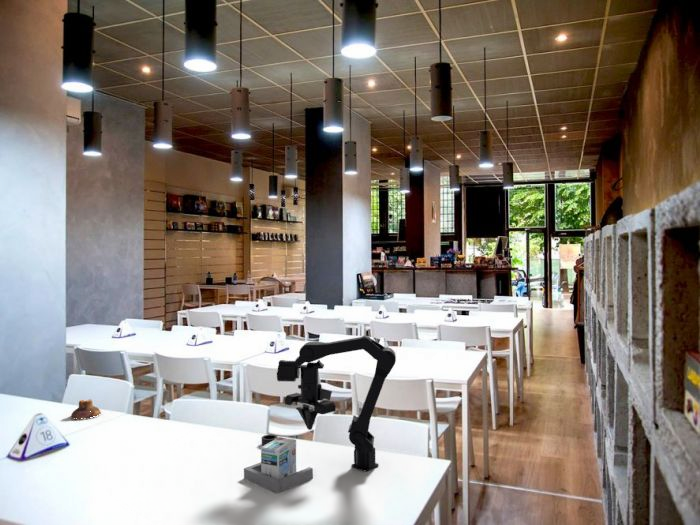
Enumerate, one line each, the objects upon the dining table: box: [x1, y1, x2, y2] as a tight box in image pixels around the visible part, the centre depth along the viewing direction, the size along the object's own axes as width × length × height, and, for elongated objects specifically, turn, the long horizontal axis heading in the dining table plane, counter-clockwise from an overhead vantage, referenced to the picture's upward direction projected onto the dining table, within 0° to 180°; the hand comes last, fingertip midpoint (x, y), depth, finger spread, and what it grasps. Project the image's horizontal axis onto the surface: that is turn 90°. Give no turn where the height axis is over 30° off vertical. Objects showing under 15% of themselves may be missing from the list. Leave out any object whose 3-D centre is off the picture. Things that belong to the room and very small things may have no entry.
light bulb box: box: [260, 436, 297, 480], centre depth 165 cm, size 11×7×11 cm, turn 156°
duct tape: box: [261, 434, 279, 447], centre depth 194 cm, size 8×10×3 cm
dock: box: [243, 461, 314, 494], centre depth 164 cm, size 16×14×3 cm
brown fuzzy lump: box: [70, 398, 102, 419], centre depth 232 cm, size 12×12×7 cm
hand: (309, 429), depth 174 cm, fingers closed
